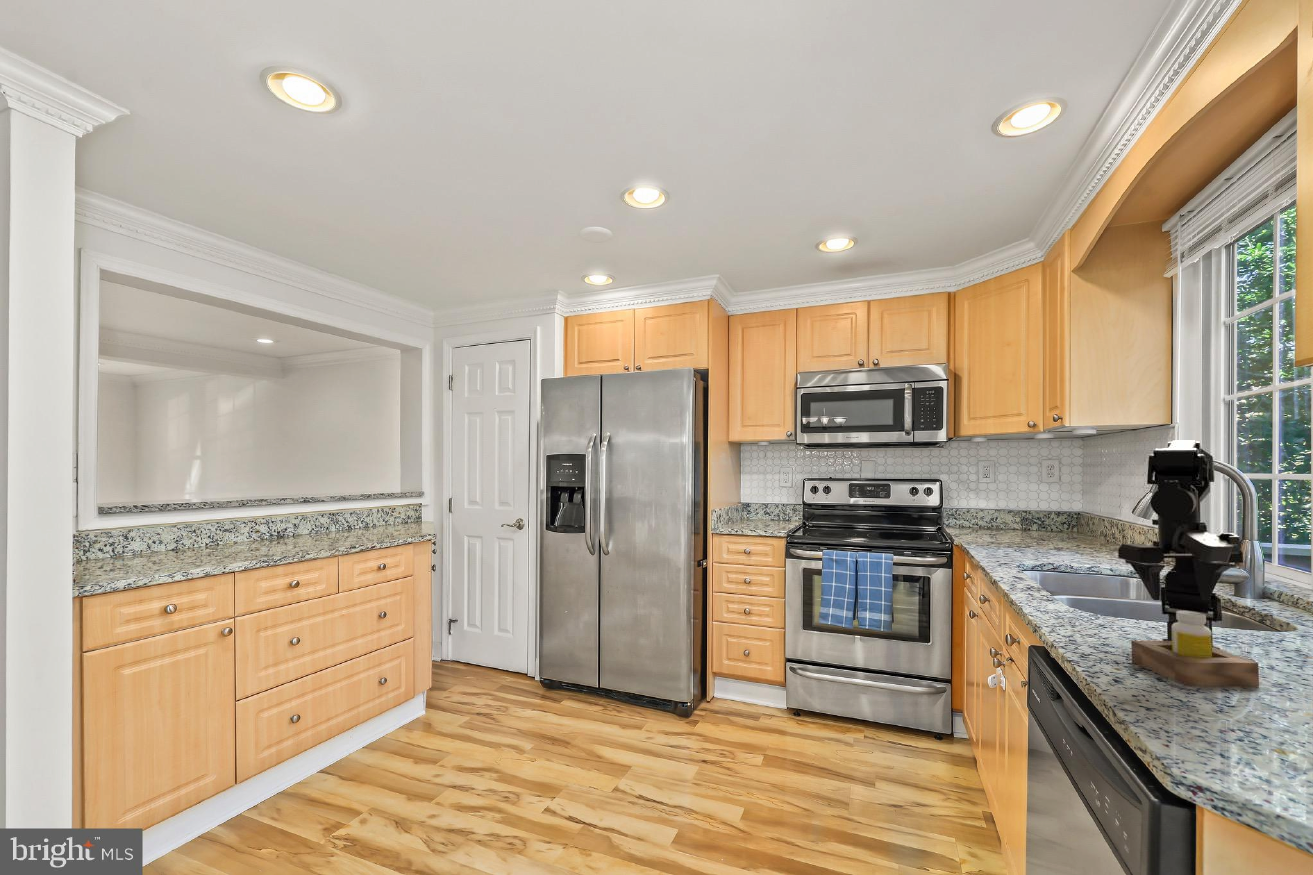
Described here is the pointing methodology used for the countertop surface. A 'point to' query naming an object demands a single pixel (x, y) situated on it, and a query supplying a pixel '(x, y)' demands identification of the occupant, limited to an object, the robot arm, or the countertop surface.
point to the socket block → (1196, 665)
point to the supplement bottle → (1191, 635)
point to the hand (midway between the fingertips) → (1180, 599)
